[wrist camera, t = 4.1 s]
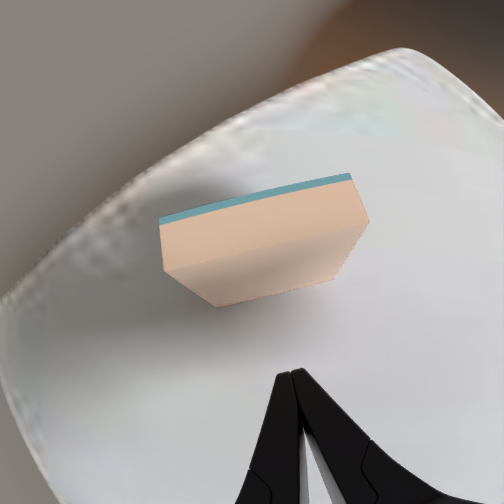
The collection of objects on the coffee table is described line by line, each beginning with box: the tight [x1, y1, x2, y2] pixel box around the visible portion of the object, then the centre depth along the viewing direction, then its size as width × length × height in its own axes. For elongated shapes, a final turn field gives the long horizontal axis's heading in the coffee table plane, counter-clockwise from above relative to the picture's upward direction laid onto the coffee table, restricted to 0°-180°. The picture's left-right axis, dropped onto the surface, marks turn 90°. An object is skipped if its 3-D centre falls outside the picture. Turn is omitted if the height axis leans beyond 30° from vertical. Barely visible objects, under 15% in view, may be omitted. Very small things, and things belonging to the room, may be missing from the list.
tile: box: [159, 173, 370, 308], centre depth 13 cm, size 2×7×8 cm, turn 102°
